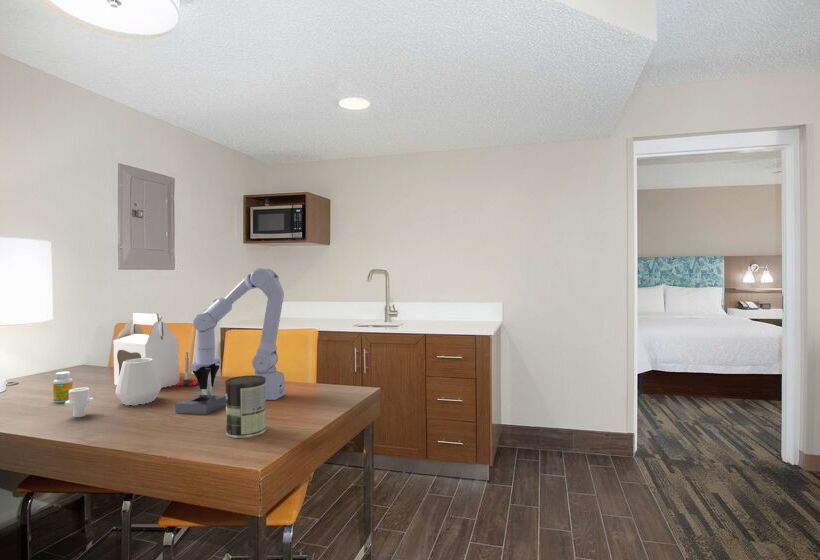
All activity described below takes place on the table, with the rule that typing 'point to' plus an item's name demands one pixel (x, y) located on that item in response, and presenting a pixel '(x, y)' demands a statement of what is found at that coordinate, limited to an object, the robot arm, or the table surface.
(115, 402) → the table surface
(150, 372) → the cup
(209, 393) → the pin
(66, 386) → the supplement bottle
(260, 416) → the coffee can
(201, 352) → the robot arm
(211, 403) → the clevis block
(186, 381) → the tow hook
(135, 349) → the gable box
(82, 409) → the pipe fitting
